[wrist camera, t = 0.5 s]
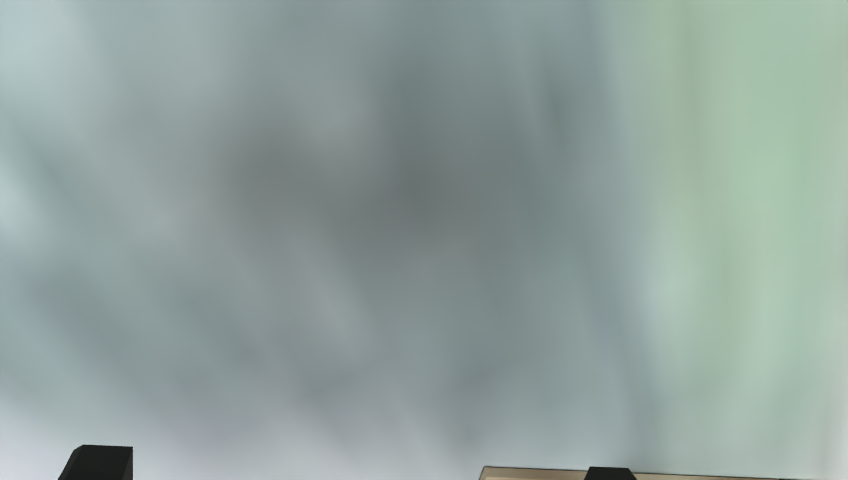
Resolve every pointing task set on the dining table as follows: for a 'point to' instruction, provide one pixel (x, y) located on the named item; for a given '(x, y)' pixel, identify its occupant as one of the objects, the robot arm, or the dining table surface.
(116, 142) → the dining table surface
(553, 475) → the rail
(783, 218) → the dining table surface
